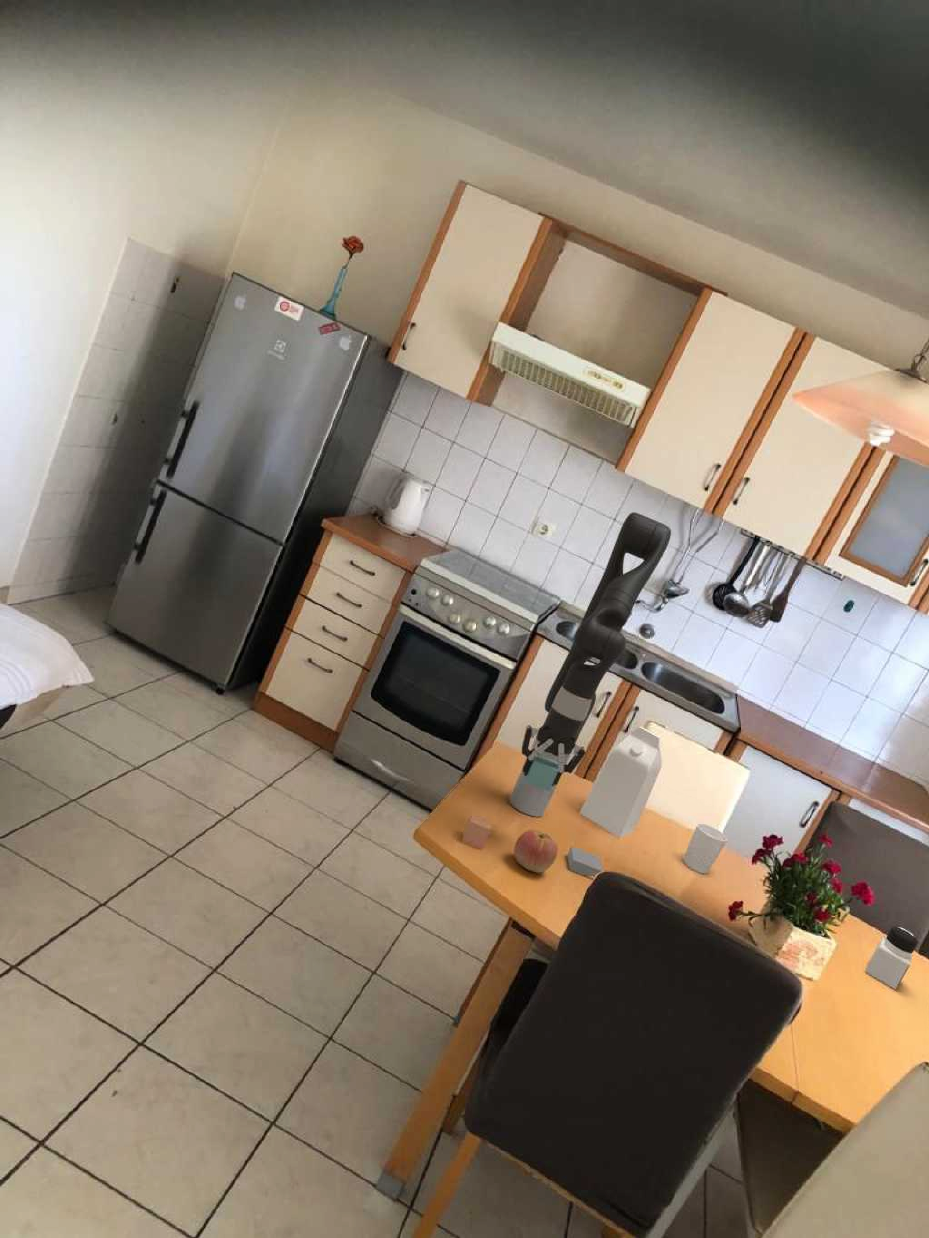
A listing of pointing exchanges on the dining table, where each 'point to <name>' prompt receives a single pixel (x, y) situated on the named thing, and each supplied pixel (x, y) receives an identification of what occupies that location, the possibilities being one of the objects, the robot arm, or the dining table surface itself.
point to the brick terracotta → (476, 831)
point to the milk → (625, 783)
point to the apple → (535, 850)
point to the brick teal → (542, 772)
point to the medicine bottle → (892, 957)
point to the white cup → (704, 848)
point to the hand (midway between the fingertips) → (538, 779)
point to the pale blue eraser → (583, 862)
